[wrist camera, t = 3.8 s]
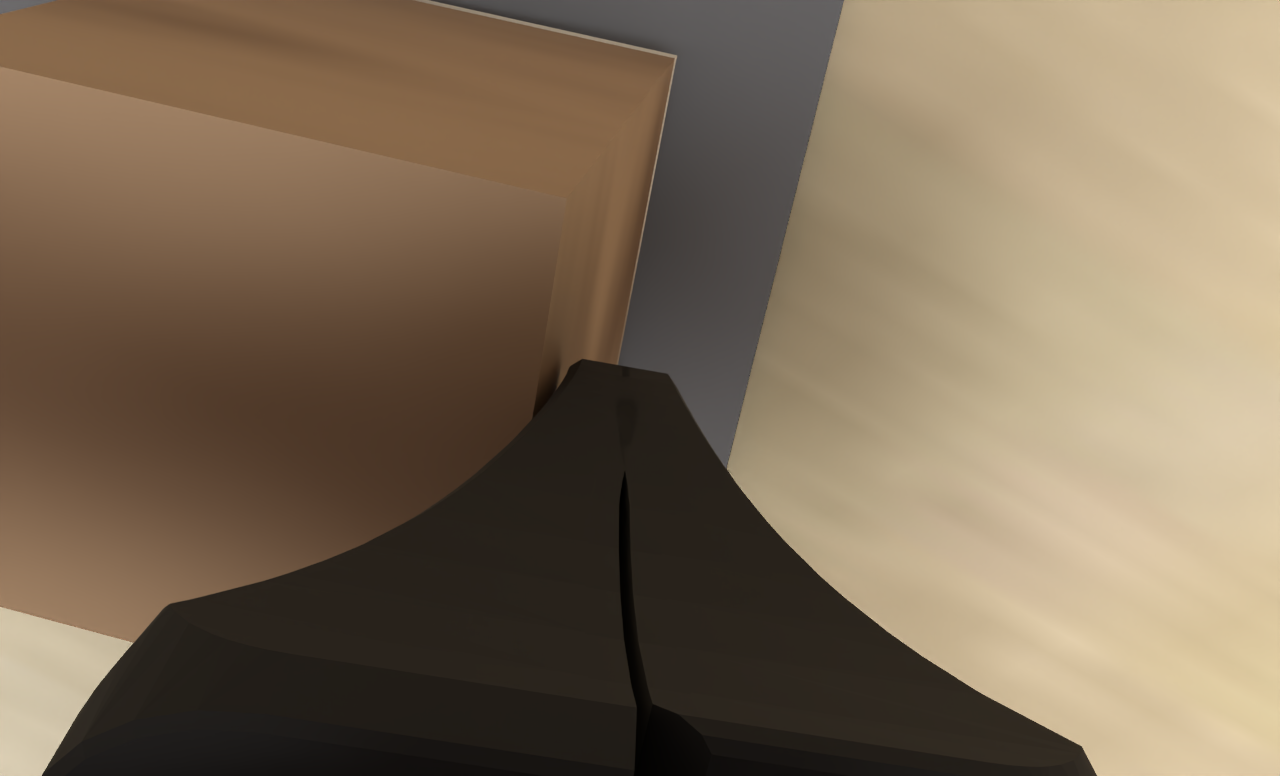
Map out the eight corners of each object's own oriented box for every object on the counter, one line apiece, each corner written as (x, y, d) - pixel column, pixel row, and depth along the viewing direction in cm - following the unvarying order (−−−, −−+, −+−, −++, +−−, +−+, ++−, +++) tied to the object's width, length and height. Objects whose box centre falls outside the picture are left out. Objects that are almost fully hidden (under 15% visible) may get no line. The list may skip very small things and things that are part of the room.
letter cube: (601, 450, 18) (482, 736, 13) (228, 357, 19) (-47, 593, 13) (677, 54, 15) (566, 197, 10) (235, -44, 16) (-110, 41, 10)
